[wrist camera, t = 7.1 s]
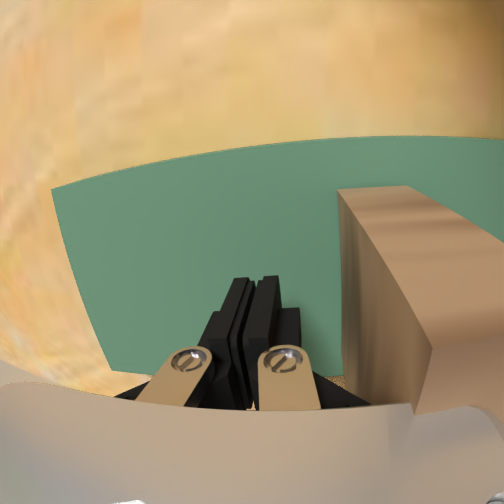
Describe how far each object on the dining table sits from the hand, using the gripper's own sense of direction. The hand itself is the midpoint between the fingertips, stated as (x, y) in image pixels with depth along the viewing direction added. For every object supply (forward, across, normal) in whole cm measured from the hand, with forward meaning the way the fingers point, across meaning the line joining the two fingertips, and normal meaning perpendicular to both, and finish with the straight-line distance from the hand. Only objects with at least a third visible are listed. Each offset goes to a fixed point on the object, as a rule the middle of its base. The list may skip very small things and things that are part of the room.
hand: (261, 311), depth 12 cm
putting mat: (+6, -6, 0) cm, 8 cm away
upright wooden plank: (+2, -5, 0) cm, 5 cm away
